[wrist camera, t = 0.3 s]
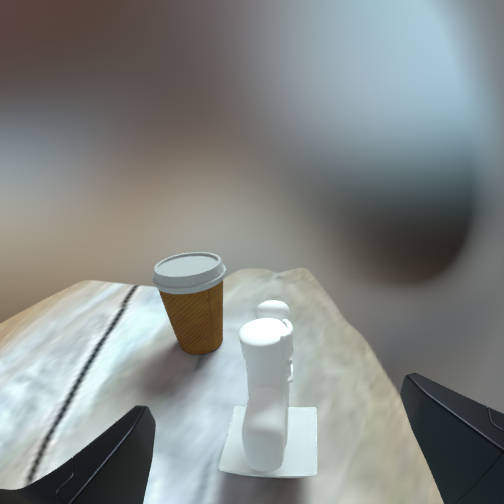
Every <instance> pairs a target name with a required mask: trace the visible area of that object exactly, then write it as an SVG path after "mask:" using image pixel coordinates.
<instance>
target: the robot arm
mask: <svg viewBox="0 0 504 504" xmlns="http://www.w3.org/2000/svg"><path fill="white" fill-rule="evenodd" d="M400 395H401V399H402V402H403V405H404V408H405V411H406V413H407V416H408V419H409V422H410V425H411V428H412V431H413V433H414V435H415V437H416V439H417V442H418V444H419V446H420V448H421V450H422V452H423V455H424V457H425V459H426V461H427V464H428V466H429V468H430V471H431V473H432V475H433V478H434V480H435V482H436V485H437V487H438V490H439V492H440V495H441V497H442V500H443V502H444V504H504V414H503V413H501V412H498V411H496V410H494V409H491V408H489V407H488V408H487V407H486V406H485V405H482V404H480V403H478V402H476V401H474V400H472V399H469V398H467V397H465V396H463V395H461V394H458V393H457V392H455V391H452V390H450V389H448V388H446V387H444V386H442V385H440V384H438V383H436V382H434V381H432V380H430V379H428V378H425V377H424V376H421V375H420V374H418V373H412V374H409V375H406V376H405V377H404V381H403V385H402V388H401V392H400ZM155 428H156V423H155V420H154V418H153V416H152V414H151V412H150V410H149V408H148V407H147V406H141V405H137V406H135V407H134V408H132V409H131V410H130V411H129V412H128V413H126V414H125V415H124V416H123V417H122V418H120V419H119V420H118V421H117V422H116V423H114V424H113V425H112V426H111V427H110V428H108V429H107V430H106V431H105V432H103V433H102V434H101V435H100V436H99V437H97V438H96V439H95V440H94V441H92V442H91V443H90V444H89V445H87V446H86V447H85V448H84V449H82V450H81V451H80V452H78V453H77V454H76V455H75V456H73V458H71V459H69V460H68V461H67V462H65V463H64V464H63V465H61V466H60V467H58V468H57V469H56V470H54V471H52V472H51V473H49V474H48V475H46V476H44V477H42V478H41V479H39V480H37V481H35V482H34V483H32V484H30V485H28V486H26V487H24V488H21V489H17V490H7V489H0V504H143V501H144V496H145V491H146V486H147V482H148V477H149V472H150V468H151V463H152V457H153V447H154V437H155Z"/></svg>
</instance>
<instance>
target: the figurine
mask: <svg viewBox="0 0 504 504" xmlns="http://www.w3.org/2000/svg"><path fill="white" fill-rule="evenodd" d="M256 319H257V320H253V321H251V322H249V323H247V324H245V325H244V326H243V327H242V328H241V329H240V331H239V340H240V344H241V348H242V352H243V356H244V359H245V361H246V367H247V378H248V402H247V406H242V405H235V408H234V412H233V415H232V419H231V423H230V427H229V431H228V434H227V438H226V442H225V446H224V449H223V453H222V457H221V460H220V464H219V468H218V470H219V471H223V472H228V473H233V474H238V475H244V476H254V477H269V478H302V477H311V476H317V417H316V407H303V408H289V382H292V372H293V365H292V364H291V363H292V353H293V326H292V324H291V323H290V312H289V308H288V306H287V305H286V304H285V303H283V302H281V301H274V300H272V301H265V302H263V303H261V304H260V305H259V306H258V307H257V311H256Z"/></svg>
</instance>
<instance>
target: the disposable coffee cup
mask: <svg viewBox="0 0 504 504" xmlns="http://www.w3.org/2000/svg"><path fill="white" fill-rule="evenodd" d="M225 272H226V268H225V266H224V265H223V264H222V261H221V258H220V257H219V256H217V255H216V254H212V253H207V252H191V253H184V254H178V255H175V256H172V257H169V258H166V259H164V260H162V261H160V262H159V263H157V264H156V265H155V267H154V275H153V277H152V280H153V283H154V284H155V285H156V287H157V289H159V292H160V295H161V298H162V301H163V303H164V306H165V309H166V312H167V314H168V317H169V319H170V322H171V325H172V327H173V330H174V332H175V335H176V337H177V340H178V342H179V344H180V347H181V348H182V350H184V351H185V352H187V353H191V354H205V353H209V352H211V351H213V350H215V349H217V348H218V347H219V346H220V345H221V343H222V341H223V278H224V275H225Z"/></svg>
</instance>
